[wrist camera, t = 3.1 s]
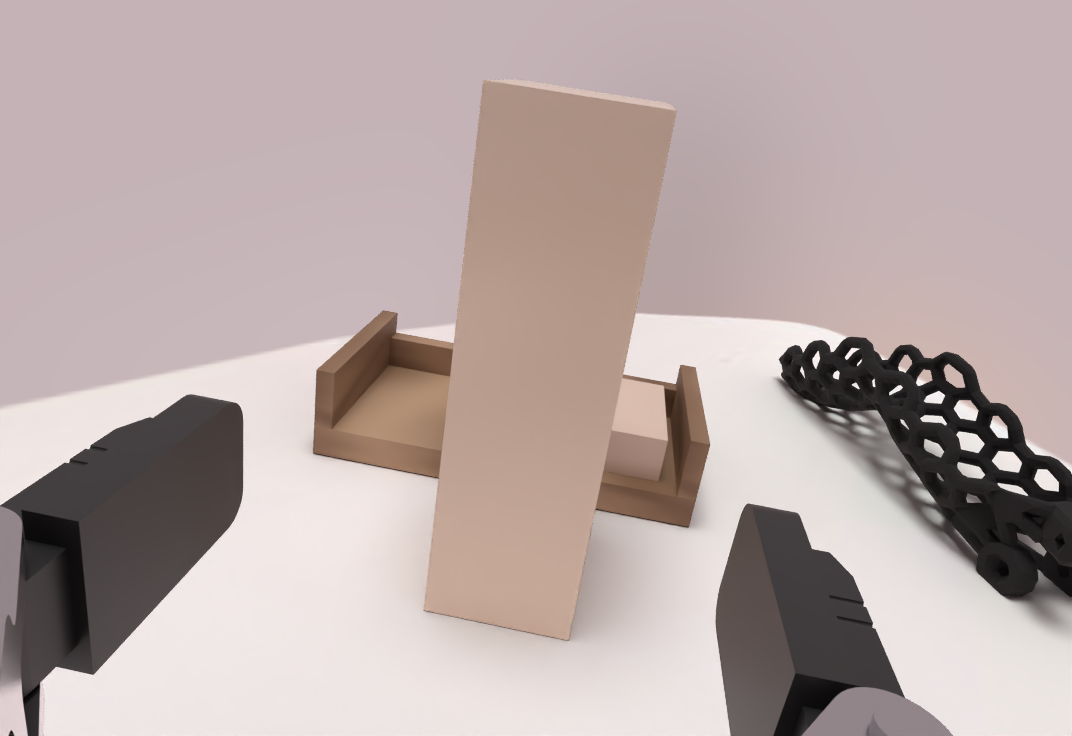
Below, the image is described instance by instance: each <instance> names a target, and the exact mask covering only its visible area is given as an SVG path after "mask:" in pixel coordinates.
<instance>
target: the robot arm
mask: <svg viewBox="0 0 1072 736" xmlns="http://www.w3.org/2000/svg"><path fill="white" fill-rule="evenodd" d="M242 494H243V414H242V410H241V408H240V406H239V405H238V404H237V403H234V402H228V401H223V400H218V399H213V398H208V397H203V396H197V395H191V394H190V395H186V396H185V397H183V398H181V399H180V400H179V401H177V402H176V403H174V404H173V405H171V406H170V407H168V408H167V409H166V410H164V411H163V412H161V413H160V414H158V415H157V416H155V417H154V418H150V417H149V418H146V419H143V420H140V421H137V422H134V423H132V424H129V425H126V426H123V427H120V428H117V429H115V430H113V431H112V432H110V433H109V434H107V435H106V436H104V437H103V438H101V439H100V440H98V441H97V442H95V443H94V444H92V445H91V447H90V449H85V450H83V451H82V452H80V453H79V454H77V455H76V456H74V457H73V458H71V459H70V462H69V463H64V464H62V465H61V466H59V467H58V468H56V469H54V470H53V471H51V472H50V473H48V474H47V475H45V476H44V477H42V478H41V479H39V480H38V481H36V482H35V483H33V484H32V485H30V486H29V487H27V488H26V489H24V490H23V491H21V492H20V493H18V494H17V495H15V496H14V497H12V498H11V499H9V500H8V501H6V502H5V503H3V504H2V505H0V736H44V691H43V683H42V680H43V679H44V678H45V677H46V676H47V675H48V674H49V673H50V672H51V671H52V670H53V669H54V668H55V667H60V668H65V669H69V670H74V671H78V672H83V673H87V674H92V675H94V674H95V673H96V671H97V670H98V669H99V668H100V667H101V666H102V665H103V664H104V663H105V662H106V661H107V660H108V658H109V657H110V656H111V655H112V654H113V653H114V652H115V651H116V650H117V649H118V648H119V646H120V645H121V644H122V643H123V642H124V641H125V640H126V639H127V638H128V637H129V636H130V635H131V633H132V632H133V631H134V630H135V629H136V628H137V627H138V626H139V625H140V624H141V623H142V621H143V620H144V619H145V618H146V617H147V616H148V615H149V614H150V613H151V612H152V611H153V610H154V608H155V607H156V606H157V605H158V604H159V603H160V602H161V601H162V600H163V599H164V598H165V597H166V595H167V594H168V593H169V592H170V591H171V590H172V589H173V588H174V587H175V586H176V585H177V583H178V582H179V581H180V580H181V579H182V578H183V577H184V576H185V575H186V574H187V573H188V572H189V570H190V569H191V568H192V567H193V566H194V565H195V564H196V563H197V562H198V561H199V560H200V558H201V557H202V556H203V555H204V554H205V553H206V552H207V551H208V550H209V549H210V548H211V547H212V545H213V544H214V543H215V542H216V541H217V540H218V539H219V538H220V537H221V536H222V535H223V534H224V532H225V531H226V530H227V529H228V528H229V527H230V526H231V524H232V522H233V521H234V519H235V517H236V515H237V513H238V510H239V507H240V504H241V500H242ZM863 604H864V601H863V599H862V597H861V594H860V592H859V590H858V587H857V585H856V583H855V580H854V578H853V576H852V575H851V574H850V573H849V572H848V571H847V570H846V569H845V568H844V567H843V566H842V565H841V564H840V563H839V562H838V561H837V560H836V559H835V558H834V557H833V556H832V555H831V553H829V552H824V551H819V550H814V549H812V548H811V545H810V542H809V540H808V537H807V534H806V532H805V529H804V526H803V523H802V521H801V518H800V516H799V514H798V513H795V512H790V511H784V510H779V509H774V508H769V507H764V506H759V505H754V504H747V505H746V506H745V507H744V509H743V511H742V514H741V517H740V520H739V523H738V527H737V530H736V533H735V537H734V540H733V544H732V547H731V551H730V554H729V557H728V561H727V564H726V568H725V571H724V575H723V578H722V582H721V585H720V589H719V594H718V599H717V607H716V632H717V640H718V647H719V654H720V661H721V669H722V676H723V683H724V690H725V698H726V705H727V712H728V719H729V726H730V734H731V736H953V735H952V734H951V733H950V731H949V730H948V729H947V728H946V727H945V726H944V725H943V724H942V723H941V722H940V721H939V720H937V719H936V718H935V717H934V716H933V715H931V714H930V713H929V712H927V711H926V710H924V709H923V708H922V707H920V706H919V705H917V704H915V703H913V702H911V701H910V700H908V699H906V698H905V697H904V695H903V692H902V690H901V688H900V685H899V683H898V681H897V678H896V676H895V674H894V671H893V669H892V667H891V664H890V662H889V660H888V657H887V655H886V653H885V650H884V648H883V646H882V643H881V641H880V639H879V636H878V634H877V632H876V629H874V628H872V625H873V622H872V620H871V618H870V615H869V613H868V611H867V608H866V607H863Z"/></svg>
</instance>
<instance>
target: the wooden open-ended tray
mask: <svg viewBox="0 0 1072 736" xmlns="http://www.w3.org/2000/svg"><path fill="white" fill-rule="evenodd" d="M396 325H397V313H394V312H389V311H382V312H381V313H380V314H379V315H378V316H377V317H375V318H374V319H373V320H372V321H371V322H370V323H369V324H368V325H367V326H365V327H364V328H363V329H362V330H361V331H360V332H359V333H358V334H356V335H355V336H354V337H353V338H352V339H351V340H350V341H349V342H347V343H346V344H345V345H344V346H343V347H342V348H341V349H340V350H338V351H337V352H336V353H335V354H334V355H333V356H332V357H331V358H330V359H328V360H327V361H326V362H325V363H324V364H323V365H322V366H321V367H319V368H318V369H317V373H316V398H315V423H314V448H313V453H316V454H321V455H326V456H331V457H336V458H341V459H346V460H351V461H356V462H362V463H367V464H372V465H377V466H382V467H387V468H392V469H397V470H402V471H407V472H412V473H417V474H422V475H427V476H433V477H438V478H439V472H440V463H441V454H442V445H443V436H444V427H445V418H446V409H447V400H448V391H449V382H450V373H451V364H452V355H453V346H454V343H450V342H444V341H439V340H433V339H428V338H422V337H417V336H412V335H406V334H401V333H396ZM622 378H624V379H630V380H635V381H640V382H646V383H651V384H657V385H662V386H664V394H665V408H666V421H667V435H668V443H667V447H666V451H665V456H664V460H663V464H662V468H661V472H660V477H659V481H653V480H648V479H643V478H637V477H632V476H627V475H622V474H617V473H612V472H607V471H603V475H602V480H601V484H600V489H599V494H598V499H597V504H596V509H600V510H605V511H610V512H615V513H620V514H625V515H630V516H635V517H640V518H645V519H650V520H656V521H661V522H666V523H671V524H676V525H681V526H686V527H689V523H690V520H691V516H692V512H693V508H694V504H695V501H696V497H697V493H698V489H699V485H700V481H701V478H702V474H703V470H704V466H705V462H706V458H707V455H708V451H709V447H710V441H709V436H708V431H707V425H706V420H705V415H704V409H703V404H702V399H701V394H700V388H699V383H698V378H697V373H696V367H690V366H685V365H680V369H679V374H678V378H677V382H676V384H672V383H666V382H661V381H655V380H650V379H645V378H639V377H634V376H628V375H623V377H622Z"/></svg>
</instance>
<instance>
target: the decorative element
mask: <svg viewBox="0 0 1072 736" xmlns="http://www.w3.org/2000/svg"><path fill="white" fill-rule="evenodd" d="M851 348H859V350H857V351H856V352H854V353H853V354H852V355H851V356H850V357H849V359H848V360H846V359H845V356H846V355H847V353H848V352H849V351H850V349H851ZM817 351H819V355H820V361H819V363H818V366H817V369H815V367H814V365H813V362H812V359H813V357H814V356H815V354H816V353H817ZM904 355H908V356H909V357H910V359H911V360H912V365H911V366H910V368H909V369H908V370H907V372H906V373H904V372H902V371H899V369H898V366H899V363H900V361H901V360H902V358H903V356H904ZM861 359H862V362H861V363H860V364H859V365H858V366H857V363H858V362H859V361H860V360H861ZM779 361H780V363H781V365H782V369H783V372H782V373H781V376H782V378H783V379H784V380H785V381H786V382H787V383H788V384H789V385H790V386H791V387H792V388H793V389H795V390H796V391H797V392H799V393H800V394H802V395H803V396H805V397H807V398H808V399H810V400H812V401H814V402H816V403H818V404H820V405H824V406H827V407H831V408H837V409H844V410H851V411H864V410H877V411H878V412H879V413H880V415H881V417H882V418H883V420H884V421H885V423H886V425H887V428H888V430H889V433H890V435H891V437H892V439H893V440H894V442H895V443H896V445H897V447H898V448H899V450H900V451H901V452H902V454H903V455H904V457H905V458H906V460H907V461H908V462H909V464H910V465H911V467H912V468H913V470H914V471H915V473H916V474H917V475H918V477H919V478H920V480H921V481H922V483H923V485H924V486H925V487H926V489H927V490H928V491H929V493H930V494H931V495H932V497H933V498H934V499H935V501H936V502H937V504H938V505H939V506H940V508H941V509H942V511H943V512H944V514H945V515H946V517H947V518H948V520H949V521H950V522H951V523H952V525H953V526H954V527H955V528H956V530H957V531H958V532H959V533H960V534H961V535H962V536H963V538H964V539H965V540H966V541H967V542H968V543H969V544H970V546H971V547H972V548H973V549H974V550H975V551H976V552H977V553H978V558H977V566H976V568H977V571H978V573H979V575H980V576H982V577H983V578H984V579H985V580H986V581H987V582H988V583H989V584H990V585H991V586H992V587H993V588H994V589H996V590H997V591H998V592H999V593H1000V594H1001V595H1011V596H1023V595H1025V594H1027V593H1030V592H1032V590H1033V588H1034V586H1035V585H1036V583H1037V581H1038V572H1037V568H1038V569H1039V570H1041V571H1043V573H1044V576H1046V577H1047V578H1048V579H1049V580H1050V581H1052V582H1053V583H1054V584H1055V585H1056V586H1058V587H1059V588H1060V589H1061V590H1062V591H1064V592H1065V593H1066V594H1067V595H1068V596H1070V597H1072V474H1071V472H1070V471H1069V470H1068V469H1067V468H1066V467H1065V466H1064V465H1063V464H1062V463H1061V462H1060V461H1059V460H1057V459H1055V458H1053V457H1051V456H1041V455H1035V454H1034V453H1033V451H1032V450H1031V449H1030V448H1029V447H1028V446H1027V445H1026V442H1025V437H1024V433H1023V427H1022V425H1021V422H1020V420H1019V418H1018V417H1017V415H1016V414H1015V413H1014V412H1013V411H1012V410H1011V409H1010V408H1009V407H1008V406H1007V405H1004V404H1001V403H990V402H989V401H988V399H987V398H986V397H985V396H984V395H983V393H982V392H981V390H980V386H979V383H978V379H977V375H976V372H975V370H974V369H973V367H972V366H971V365H970V364H968V363H967V362H966V361H965V360H964V359H963V358H961V357H960V356H959V355H957V354H954V353H950V352H944V353H942V354H940V355H939V356H937V357H935V358H933V359H931V358H924V357H923V355H922V354H921V352H920V351H919V349H917V348H916V347H914V346H912V345H900V346H899V347H897V348H896V349H895V351H894V352H893V354H892V355H891V357H890V358H889V359H888V360H882V359H881V357H880V355H879V354H878V353H877V352H876V351H874V348H873V344H872V343H871V342H869V341H868V340H867V339H866V338H859V337H848V338H846V339H844V340H843V341H842V342H841V343H840V345H839V346H838V347H837V348H836V350H835V351H834V352H831V351H830V346H829V345H828V344H827V343H826V342H825V341H823V340H818V341H813V342H811V343H810V344H809V345H808V346H807V348H806V349H805V351H804V352H802V349H801V348H800V346H797V345H794V346H792V347H789V348H788V349H787V351H786V352H785V353H784V354H783V355H782V356H781V357H780V359H779ZM947 364H950V365H951V366H952V367H954V368H955V369H956V370H957V371H959V372H960V373H961V374H962V375H963V379H964V383H965V388H956V387H955V386H953V385H952V384H950V383H949V382H947V381H946V378H945V374H944V367H945V366H946V365H947ZM801 366H802V367H803V370H804V374H805V378H804V377H803V375H802V373H801V372H800V369H801ZM923 369H925V370H930V371H931V375H932V379H933V380H932V381H930V382H928V383H926V384H924V385H921V386H917V384H916V381H917V378H918V376H919V375H920V373H921V372H922V370H923ZM837 370H838V371H839V372H840V375H839V380H837V379H834V378H833V374H834V372H836V371H837ZM874 378H875V386H876V387H873V385H872V380H873V379H874ZM854 383H857V384H858V386H859V388H860V389H857V388H855V387H854V386H852V384H854ZM898 385H901V386H902V387H903V388H902V389H901V390H900V391H898V392H896V393H894V394H892V395H890V396H889V392H890V391H892V390H893V389H894V388H895V387H897V386H898ZM822 387H824V388H825V389H826V391H823V390H822V389H821V388H822ZM937 391H940V392H942V393H943V394H944V395H945V397H944V400H943V402H942V404H935V403H925V402H924V400H925V398H926V396H928V395H930V394H933V393H935V392H937ZM959 400H971V401H972V403H973V404H974V405H975V406H976V408H977V409H978V410H979V412H978V415H977V419H976V421H971V420H965V419H960V418H959V416H958V415H957V413H956V412H955V410H954V407H955V405H956V404H957V402H958V401H959ZM924 415H934V416H942V417H943V418H944V420H945V421H946V423H947V425H946V426H945V425H943V424H942V423H931V422H922V421H921V419H920V418H921V417H923V416H924ZM993 416H999V417H1000V418H1001V419H1002V421H1003V422H1004V423H1005V424H1006V425H1007V429H1008V438H998V437H997V436H996V435H995V433H994V432H993V431H992V430H991V428H990V424H991V421H992V417H993ZM900 419H902V420H904V421H905V423H906V425H907V426H908V428H909V430H908V429H907V428H906V427H905V426H904V425H903V424H901V421H900ZM959 431H960V432H967V433H973V434H977V435H978V436H979V438H980V439H981V440H982V441H983V442H984V443H985V445H984V446H983V448H982V449H981V450H980V452H979V453H975V452H970V451H966V450H961V447H960V442H959V438H958V437H957V436H956V434H957V433H958V432H959ZM924 439H927V440H930V441H932V442H935V443H938V444H939V445H940V446H941V448H942V449H943V451H944V453H943V455H942V457H941V458H940V457H937V456H935V455H933V454H931V453H929V452H927V451H926V450H925V449H924ZM998 451H1007V452H1014V453H1015V454H1016V456H1017V457H1018V458H1019V459H1020V460H1021V462H1022V465H1021V468H1020V471H1019V473H1016V472H1009V471H1003V470H999V469H998V468H997V466H996V465H995V464H994V463H993V462H992V459H993V458H994V457H995V455H996V454H997V452H998ZM958 462H961V463H965V464H970V465H974V466H979V467H980V468H981V470H982V471H983V472H984V474H985V476H984V477H983V478H982V479H977V478H968V477H966V476H964V475H962V473H961V472H960V471H959V470H958V468H957V464H958ZM1037 469H1047V470H1048V471H1049V472H1050V473H1051V474H1052V475H1053V476H1054V477H1055V478H1056V479H1057V481H1058V482H1059V492H1057V491H1048V490H1044V489H1042V488H1041V487H1040V486H1039V485H1038V484H1037V483H1036V481H1035V480H1034V478H1035V475H1036V472H1037ZM937 473H939V474H940V475H941V477H942V478H943V480H944V481H941V480H940V479H939V478H937ZM998 483H1002V484H1010V485H1016V486H1019V487H1021V488H1022V489H1023V490H1024V491H1025V492H1026V493H1027V494H1028V496H1025V495H1021V494H1018V493H1014V492H1010V491H1007V490H1005V489H1002V488H1000V487H999V486H998V485H997V484H998ZM967 493H968V494H971V495H974V496H977V497H978V498H979V499H980V501H981V502H982V503H967V500H966V497H967ZM1016 533H1020V534H1024V535H1028V536H1029V537H1030V538H1031V539H1032V540H1033V541H1034V542H1035V543H1038V542H1040V544H1041V545H1042V546H1043V547H1044V549H1045V550H1046V551H1047V552H1046V554H1045V556H1042V555H1041V554H1039V553H1038V552H1036V551H1035V550H1033V549H1032V548H1030V547H1028V546H1027V545H1025V544H1024V543H1022V542H1021V541H1019V540H1018V537H1017V534H1016ZM1069 570H1070V571H1069Z"/></svg>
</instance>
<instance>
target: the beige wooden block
mask: <svg viewBox="0 0 1072 736" xmlns="http://www.w3.org/2000/svg"><path fill="white" fill-rule="evenodd" d="M676 113H677V110H675V109H674V108H673V107H672V106H671V105H670V104H668V103H664V102H657V101H651V100H644V99H639V98H632V97H626V96H620V95H613V94H607V93H601V92H594V91H588V90H582V89H576V88H569V87H563V86H557V85H550V84H544V83H538V82H532V81H525V80H483V87H482V96H481V105H480V114H479V123H478V132H477V140H476V150H475V159H474V167H473V177H472V186H471V194H470V203H469V213H468V222H467V230H466V239H465V248H464V257H463V267H462V275H461V285H460V293H459V302H458V311H457V320H456V329H455V337H454V346H453V355H452V364H451V373H450V382H449V391H448V400H447V409H446V418H445V427H444V436H443V445H442V454H441V463H440V472H439V481H438V490H437V499H436V508H435V517H434V526H433V534H432V543H431V552H430V561H429V570H428V579H427V588H426V597H425V606H424V610H425V611H430V612H434V613H439V614H444V615H449V616H453V617H458V618H463V619H468V620H473V621H477V622H482V623H487V624H492V625H496V626H501V627H506V628H511V629H516V630H520V631H525V632H530V633H535V634H539V635H544V636H549V637H554V638H559V639H563V640H568V641H569V636H570V631H571V626H572V621H573V616H574V612H575V607H576V602H577V597H578V592H579V587H580V582H581V577H582V572H583V568H584V563H585V558H586V553H587V548H588V543H589V538H590V533H591V528H592V524H593V519H594V514H595V509H596V504H597V499H598V494H599V489H600V484H601V480H602V475H603V470H604V465H605V460H606V455H607V450H608V445H609V440H610V436H611V431H612V426H613V421H614V416H615V411H616V406H617V401H618V396H619V392H620V387H621V382H622V377H623V372H624V367H625V362H626V357H627V352H628V348H629V343H630V338H631V333H632V328H633V323H634V318H635V313H636V308H637V304H638V299H639V294H640V289H641V284H642V279H643V274H644V269H645V264H646V260H647V255H648V250H649V245H650V240H651V235H652V230H653V225H654V221H655V216H656V211H657V206H658V201H659V196H660V191H661V186H662V181H663V177H664V172H665V167H666V162H667V157H668V152H669V147H670V142H671V137H672V132H673V127H674V122H675V117H676Z"/></svg>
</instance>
